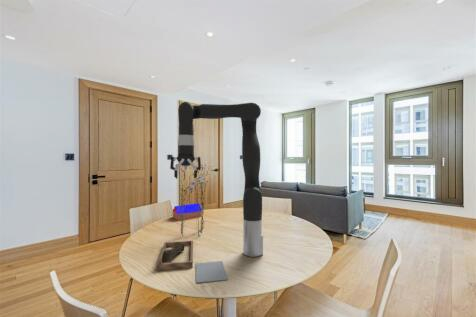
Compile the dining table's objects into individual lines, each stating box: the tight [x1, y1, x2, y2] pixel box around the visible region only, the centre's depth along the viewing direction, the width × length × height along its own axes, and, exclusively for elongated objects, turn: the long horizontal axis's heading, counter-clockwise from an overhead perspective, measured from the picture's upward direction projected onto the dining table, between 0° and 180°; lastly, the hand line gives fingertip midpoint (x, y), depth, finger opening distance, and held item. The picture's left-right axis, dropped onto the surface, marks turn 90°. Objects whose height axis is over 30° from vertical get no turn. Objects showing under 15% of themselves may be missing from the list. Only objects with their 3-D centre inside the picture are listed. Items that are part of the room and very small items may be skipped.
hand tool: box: [162, 243, 185, 263], centre depth 106 cm, size 19×4×5 cm, turn 167°
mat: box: [195, 260, 228, 284], centre depth 95 cm, size 12×16×1 cm
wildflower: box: [174, 163, 211, 238], centre depth 139 cm, size 22×23×45 cm
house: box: [172, 202, 202, 222], centre depth 177 cm, size 12×20×12 cm, turn 126°
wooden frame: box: [156, 240, 194, 272], centre depth 110 cm, size 15×26×2 cm, turn 11°
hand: (185, 178), depth 108 cm, fingers open, 8 cm apart
